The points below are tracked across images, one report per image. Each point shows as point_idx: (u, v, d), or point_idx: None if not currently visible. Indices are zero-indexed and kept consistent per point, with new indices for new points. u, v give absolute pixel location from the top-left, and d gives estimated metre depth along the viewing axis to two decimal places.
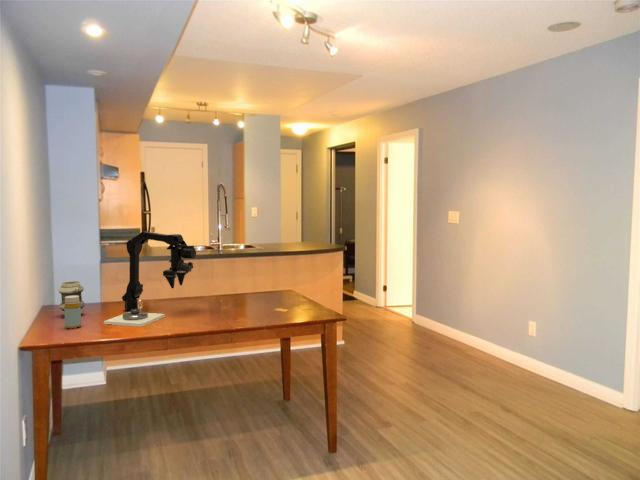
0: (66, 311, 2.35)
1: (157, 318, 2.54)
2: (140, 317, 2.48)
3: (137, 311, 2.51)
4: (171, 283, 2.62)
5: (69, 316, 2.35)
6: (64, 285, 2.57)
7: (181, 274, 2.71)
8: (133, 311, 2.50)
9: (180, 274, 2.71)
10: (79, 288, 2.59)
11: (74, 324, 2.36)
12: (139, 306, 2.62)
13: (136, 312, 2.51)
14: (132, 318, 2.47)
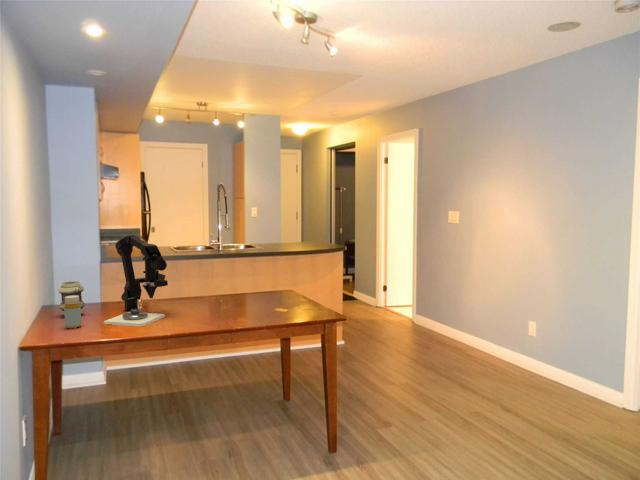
0: (66, 311, 2.35)
1: (157, 318, 2.54)
2: (140, 317, 2.48)
3: (137, 311, 2.51)
4: (152, 293, 2.61)
5: (69, 316, 2.35)
6: (64, 285, 2.57)
7: None
8: (133, 311, 2.50)
9: None
10: (79, 288, 2.59)
11: (74, 324, 2.36)
12: (139, 306, 2.62)
13: (136, 312, 2.51)
14: (132, 318, 2.47)
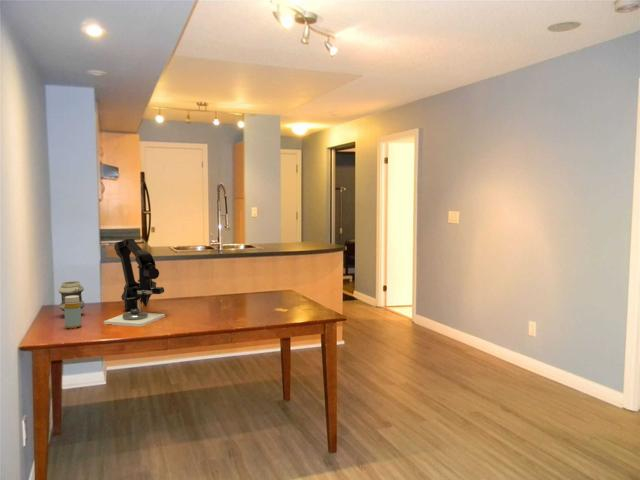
0: (66, 311, 2.35)
1: (157, 318, 2.54)
2: (140, 317, 2.48)
3: (137, 311, 2.51)
4: (146, 301, 2.62)
5: (69, 316, 2.35)
6: (64, 285, 2.57)
7: None
8: (133, 311, 2.50)
9: None
10: (79, 288, 2.59)
11: (74, 324, 2.36)
12: (139, 306, 2.62)
13: (136, 312, 2.51)
14: (132, 318, 2.47)
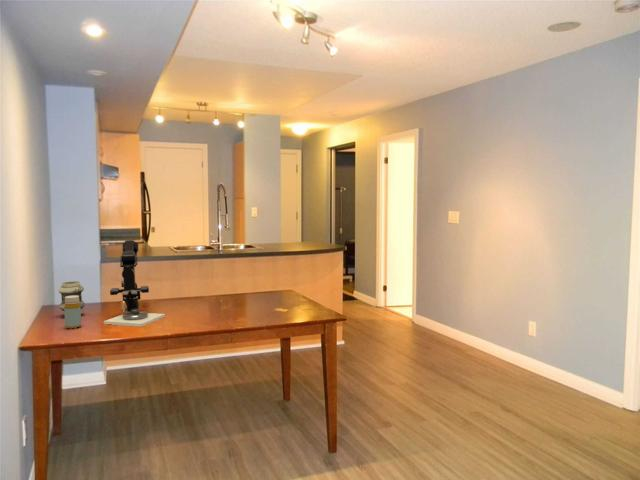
0: (66, 311, 2.35)
1: (157, 318, 2.54)
2: (146, 315, 2.52)
3: None
4: (132, 301, 2.61)
5: (68, 316, 2.35)
6: (64, 285, 2.57)
7: (129, 295, 2.61)
8: (136, 311, 2.51)
9: (129, 295, 2.60)
10: (79, 288, 2.59)
11: (74, 324, 2.36)
12: (125, 307, 2.59)
13: (138, 311, 2.52)
14: (141, 317, 2.49)
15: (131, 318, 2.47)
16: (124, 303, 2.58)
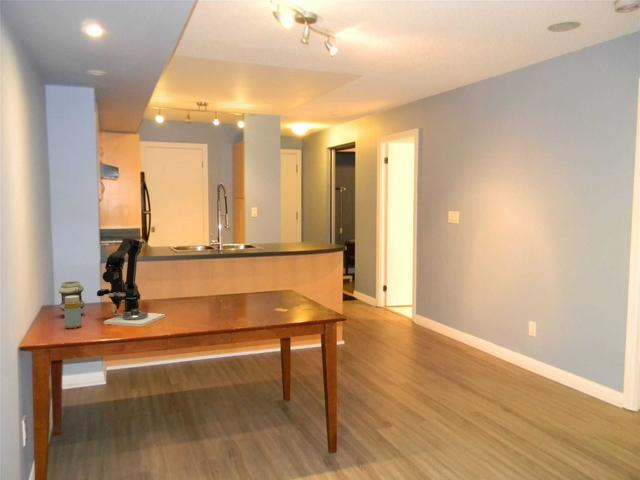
0: (66, 311, 2.35)
1: (157, 318, 2.54)
2: None
3: None
4: (119, 304, 2.55)
5: (68, 316, 2.35)
6: (64, 285, 2.57)
7: (116, 297, 2.56)
8: (138, 310, 2.52)
9: (116, 297, 2.55)
10: (79, 288, 2.59)
11: (74, 324, 2.36)
12: (116, 310, 2.53)
13: None
14: (146, 315, 2.52)
15: (139, 317, 2.48)
16: (115, 305, 2.52)
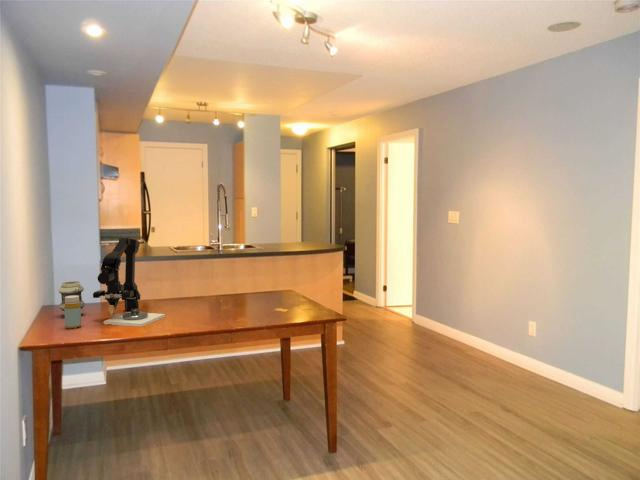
0: (66, 311, 2.35)
1: (157, 318, 2.54)
2: None
3: None
4: (115, 305, 2.52)
5: (68, 316, 2.35)
6: (64, 285, 2.57)
7: (112, 299, 2.52)
8: None
9: (112, 299, 2.51)
10: (79, 288, 2.59)
11: (74, 324, 2.36)
12: (114, 311, 2.50)
13: None
14: (147, 314, 2.54)
15: (143, 317, 2.50)
16: None
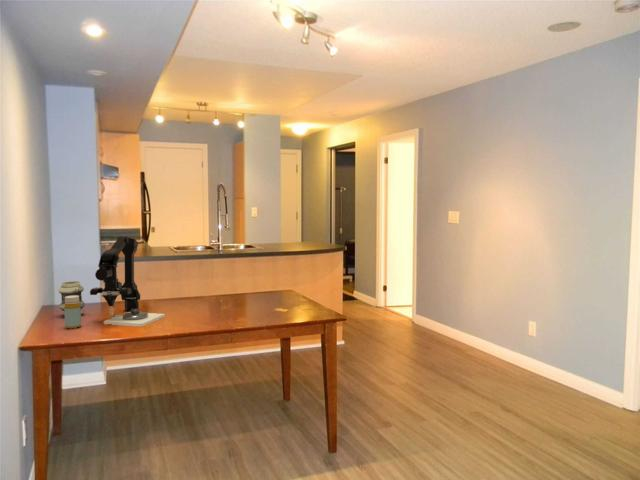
0: (66, 311, 2.35)
1: (157, 318, 2.54)
2: None
3: None
4: (112, 303, 2.48)
5: (69, 316, 2.35)
6: (64, 285, 2.57)
7: (110, 296, 2.49)
8: None
9: (109, 296, 2.48)
10: (79, 288, 2.59)
11: (74, 324, 2.36)
12: (114, 313, 2.47)
13: None
14: None
15: (145, 316, 2.51)
16: (114, 308, 2.47)
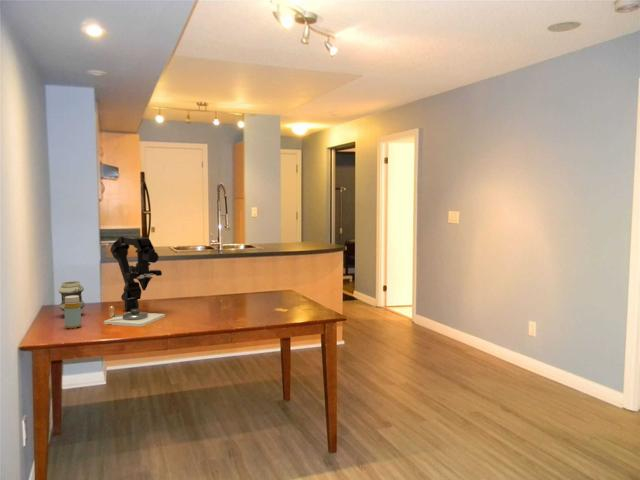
0: (66, 311, 2.35)
1: (157, 318, 2.54)
2: None
3: None
4: None
5: (68, 316, 2.35)
6: (64, 285, 2.57)
7: None
8: None
9: None
10: (79, 288, 2.59)
11: (74, 324, 2.36)
12: (114, 313, 2.47)
13: None
14: None
15: (145, 316, 2.51)
16: (114, 308, 2.47)
